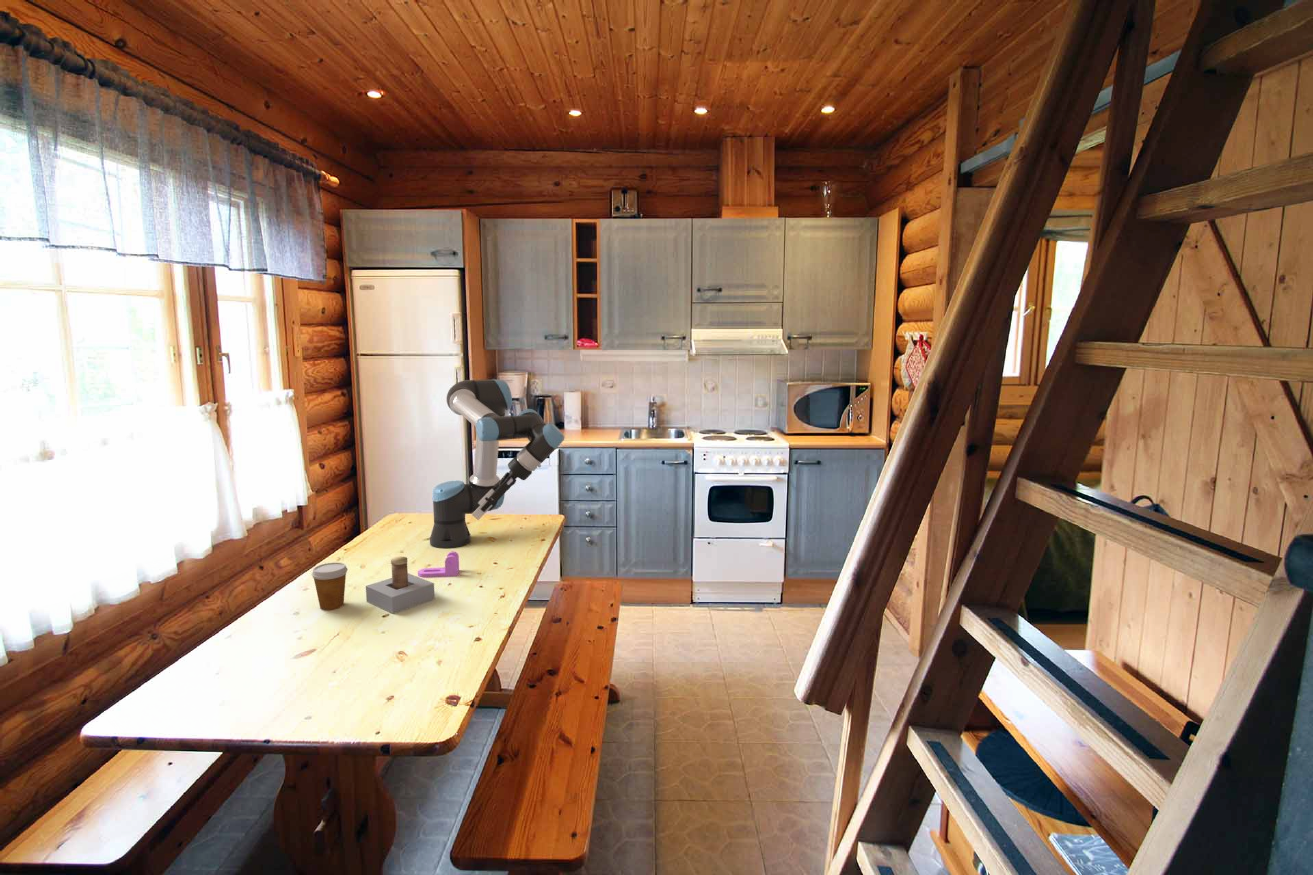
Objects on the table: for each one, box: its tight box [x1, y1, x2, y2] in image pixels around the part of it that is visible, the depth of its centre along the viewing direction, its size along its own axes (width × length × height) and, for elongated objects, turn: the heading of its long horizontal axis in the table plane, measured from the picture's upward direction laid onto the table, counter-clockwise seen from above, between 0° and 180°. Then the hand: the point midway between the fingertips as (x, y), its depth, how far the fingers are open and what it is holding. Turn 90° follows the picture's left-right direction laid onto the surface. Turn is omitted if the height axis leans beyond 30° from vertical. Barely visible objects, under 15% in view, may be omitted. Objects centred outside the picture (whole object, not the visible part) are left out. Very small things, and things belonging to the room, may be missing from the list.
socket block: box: [365, 573, 436, 615], centre depth 200 cm, size 14×14×5 cm
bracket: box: [417, 551, 460, 579], centre depth 222 cm, size 13×6×7 cm, turn 99°
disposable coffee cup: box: [311, 561, 348, 611], centre depth 195 cm, size 10×10×12 cm
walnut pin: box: [390, 556, 408, 590], centre depth 200 cm, size 5×5×13 cm
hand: (478, 511), depth 211 cm, fingers open, 13 cm apart
